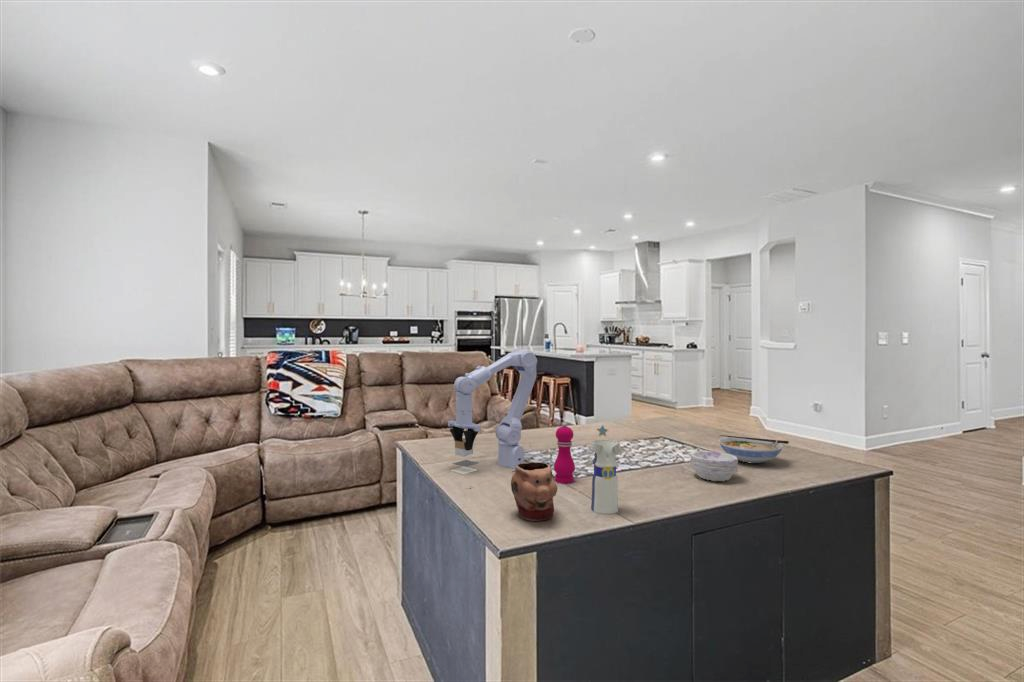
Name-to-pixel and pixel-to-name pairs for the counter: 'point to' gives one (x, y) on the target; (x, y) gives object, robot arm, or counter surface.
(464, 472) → the stand
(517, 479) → the decorative planter
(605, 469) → the white figurine with star
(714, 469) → the paper bowls
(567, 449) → the pepper mill
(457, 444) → the block
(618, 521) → the counter surface
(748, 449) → the ramen bowl
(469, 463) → the stand
